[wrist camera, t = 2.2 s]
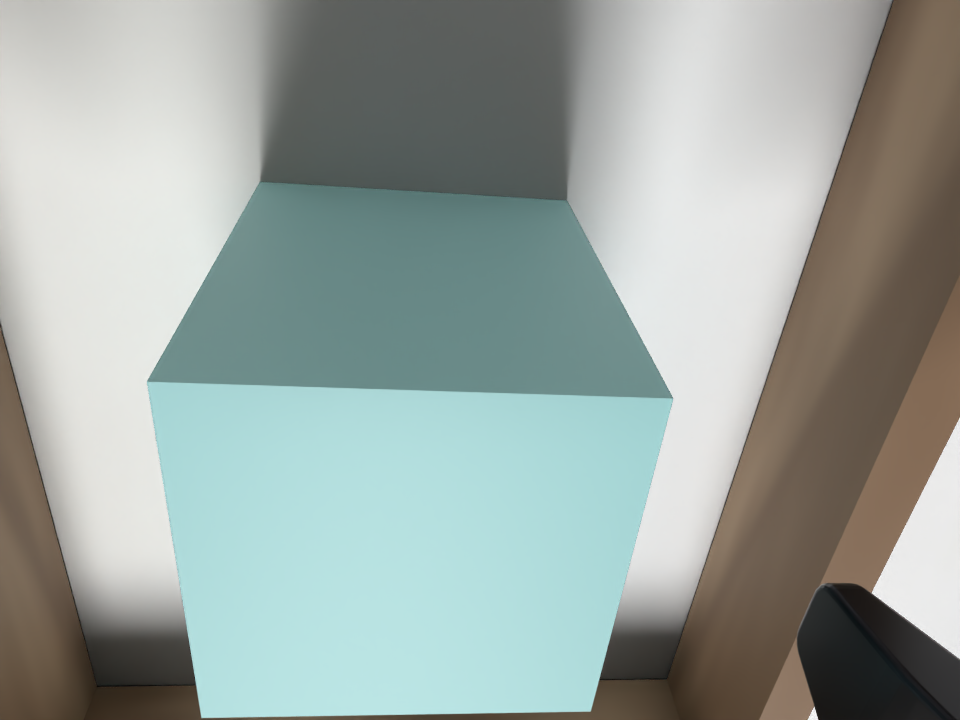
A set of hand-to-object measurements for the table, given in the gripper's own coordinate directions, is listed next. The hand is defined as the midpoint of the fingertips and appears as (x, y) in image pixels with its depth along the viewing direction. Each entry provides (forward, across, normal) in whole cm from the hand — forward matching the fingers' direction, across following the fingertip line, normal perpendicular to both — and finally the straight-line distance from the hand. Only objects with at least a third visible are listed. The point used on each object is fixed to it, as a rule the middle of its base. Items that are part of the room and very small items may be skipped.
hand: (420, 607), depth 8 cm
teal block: (+6, 0, 0) cm, 6 cm away
